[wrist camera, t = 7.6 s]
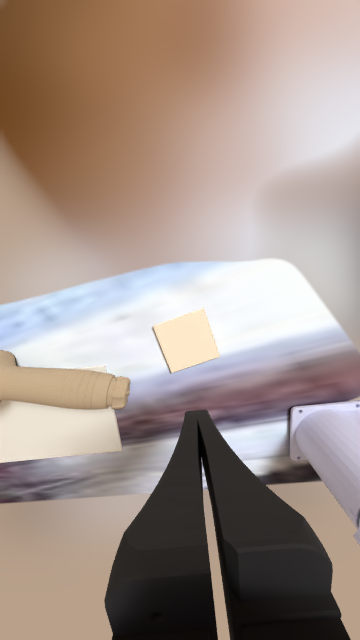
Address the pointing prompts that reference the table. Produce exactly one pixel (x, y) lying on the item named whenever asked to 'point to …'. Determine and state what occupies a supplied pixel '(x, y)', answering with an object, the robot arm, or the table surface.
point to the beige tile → (186, 340)
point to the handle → (61, 386)
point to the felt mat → (55, 430)
